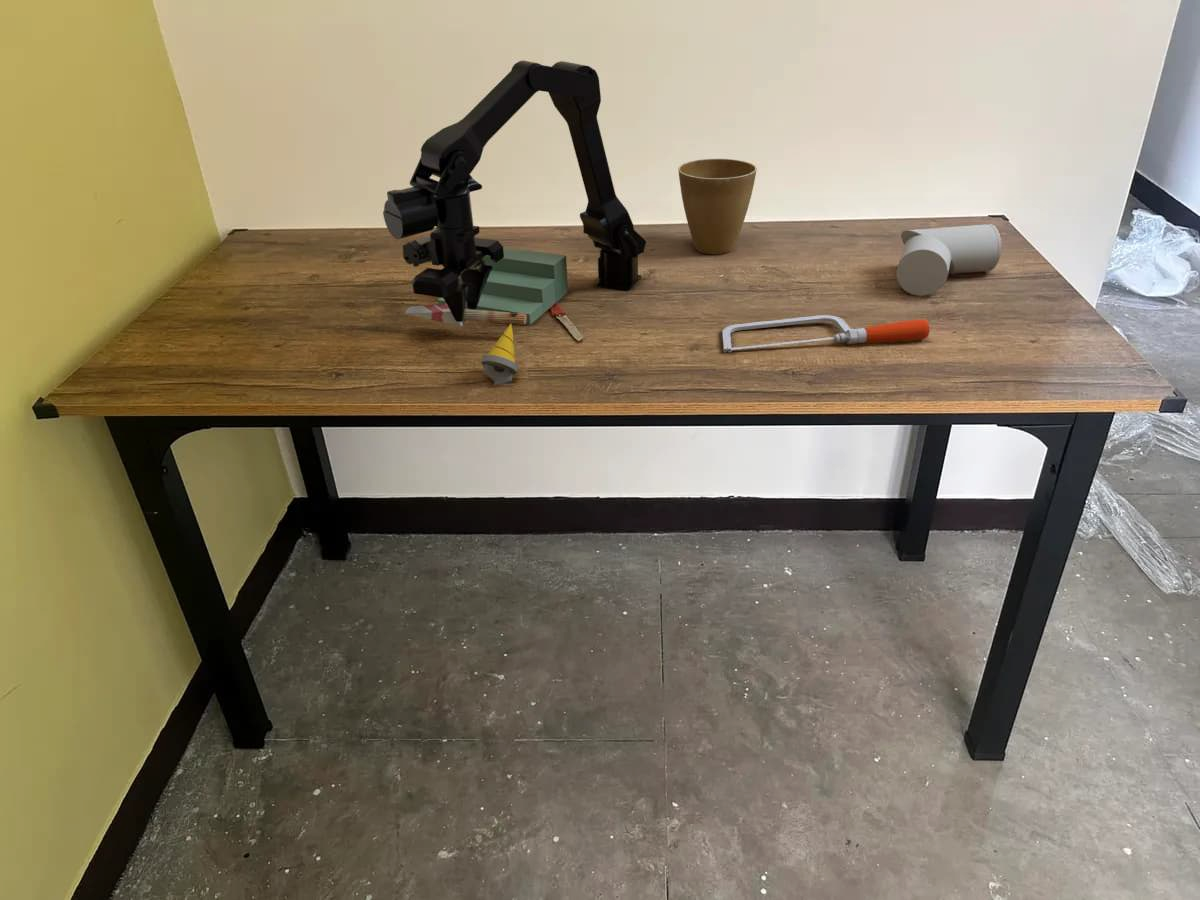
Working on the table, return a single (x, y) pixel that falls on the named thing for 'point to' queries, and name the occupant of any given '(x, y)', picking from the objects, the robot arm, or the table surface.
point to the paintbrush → (444, 315)
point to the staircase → (523, 283)
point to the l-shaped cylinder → (945, 255)
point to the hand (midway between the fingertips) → (465, 316)
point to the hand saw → (852, 336)
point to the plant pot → (716, 201)
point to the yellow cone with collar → (501, 359)
